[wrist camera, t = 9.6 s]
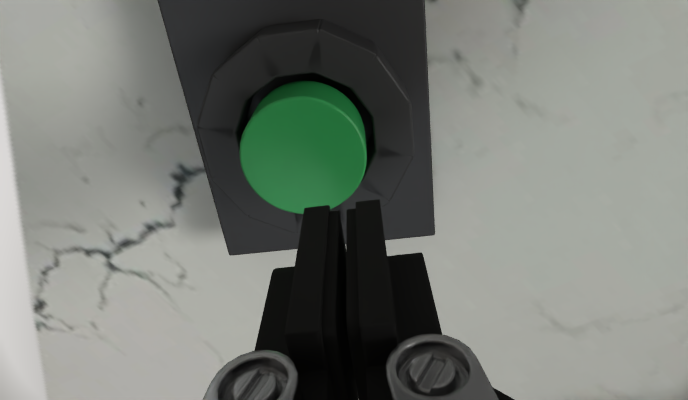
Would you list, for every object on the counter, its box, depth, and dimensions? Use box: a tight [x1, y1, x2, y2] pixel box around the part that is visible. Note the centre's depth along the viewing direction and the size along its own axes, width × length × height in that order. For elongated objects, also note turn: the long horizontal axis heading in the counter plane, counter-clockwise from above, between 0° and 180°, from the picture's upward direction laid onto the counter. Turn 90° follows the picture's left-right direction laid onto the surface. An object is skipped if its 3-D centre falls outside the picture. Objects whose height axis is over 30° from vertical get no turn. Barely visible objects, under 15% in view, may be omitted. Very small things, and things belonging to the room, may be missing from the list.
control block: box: [158, 0, 435, 255], centre depth 17 cm, size 10×8×4 cm
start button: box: [239, 81, 367, 214], centre depth 15 cm, size 4×4×2 cm
